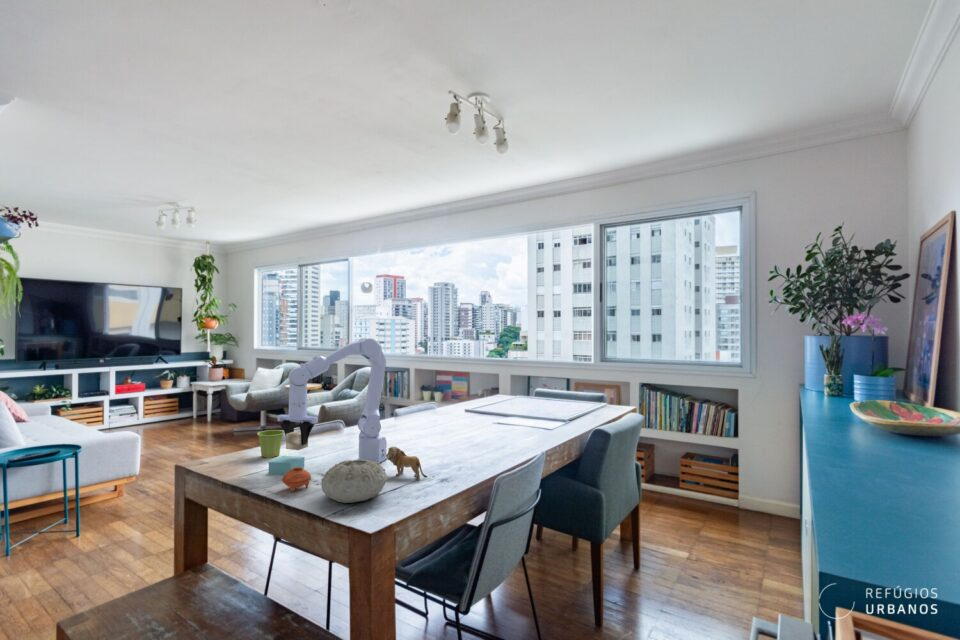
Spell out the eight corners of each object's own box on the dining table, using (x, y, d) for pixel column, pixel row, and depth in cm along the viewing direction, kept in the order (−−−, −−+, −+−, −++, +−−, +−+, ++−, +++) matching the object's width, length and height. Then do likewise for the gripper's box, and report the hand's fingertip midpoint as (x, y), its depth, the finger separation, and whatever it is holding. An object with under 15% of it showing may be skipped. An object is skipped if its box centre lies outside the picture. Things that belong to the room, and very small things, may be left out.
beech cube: (308, 446, 162) (308, 432, 162) (298, 450, 158) (298, 435, 158) (295, 445, 164) (295, 431, 164) (285, 449, 159) (286, 433, 159)
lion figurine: (383, 475, 154) (383, 447, 154) (392, 471, 159) (392, 444, 159) (423, 481, 148) (423, 452, 149) (431, 476, 153) (431, 448, 154)
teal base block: (304, 468, 162) (304, 456, 162) (290, 475, 154) (291, 463, 154) (282, 467, 164) (283, 455, 164) (268, 474, 156) (268, 461, 156)
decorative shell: (307, 500, 131) (307, 464, 131) (355, 483, 146) (356, 450, 146) (353, 514, 122) (354, 474, 122) (399, 494, 137) (400, 459, 137)
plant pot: (285, 451, 183) (285, 429, 183) (283, 458, 174) (283, 434, 175) (258, 453, 180) (258, 430, 181) (255, 460, 171) (255, 435, 172)
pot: (308, 481, 146) (309, 461, 145) (311, 495, 140) (313, 474, 138) (279, 484, 143) (281, 463, 142) (282, 498, 136) (283, 477, 135)
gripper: (271, 403, 159) (270, 444, 159) (309, 406, 155) (308, 447, 155) (285, 400, 166) (284, 440, 166) (321, 403, 162) (321, 443, 162)
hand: (297, 443), depth 161 cm, fingers closed on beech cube, 5 cm apart
